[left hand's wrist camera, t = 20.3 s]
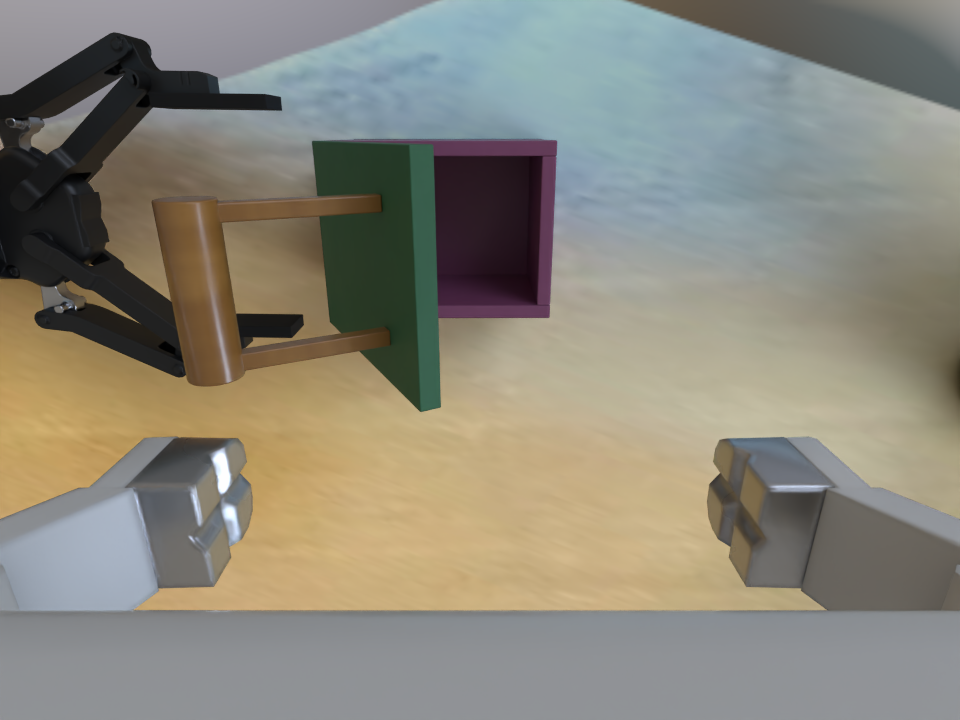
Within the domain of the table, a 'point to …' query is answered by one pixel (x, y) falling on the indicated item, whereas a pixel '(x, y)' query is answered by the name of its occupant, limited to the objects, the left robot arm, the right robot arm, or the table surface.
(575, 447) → the table surface
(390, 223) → the lid
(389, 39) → the table surface
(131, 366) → the table surface
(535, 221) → the chest
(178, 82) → the right robot arm
